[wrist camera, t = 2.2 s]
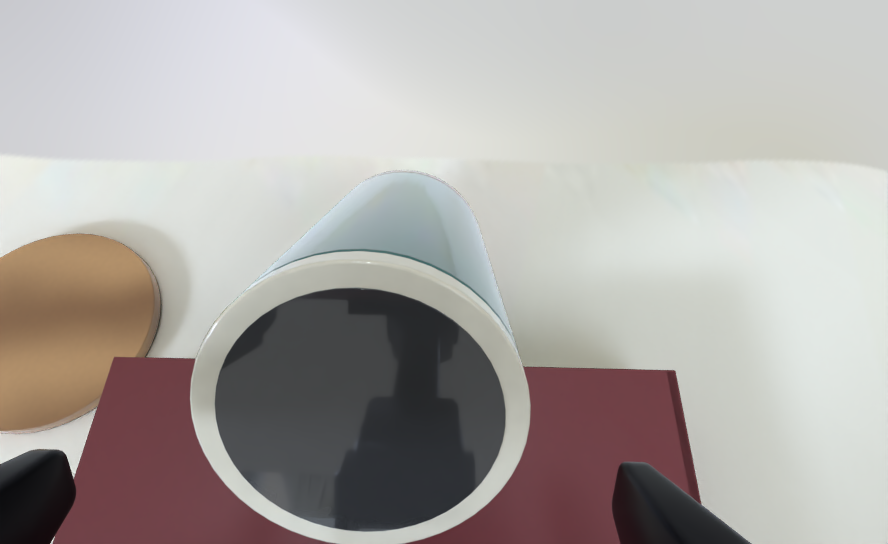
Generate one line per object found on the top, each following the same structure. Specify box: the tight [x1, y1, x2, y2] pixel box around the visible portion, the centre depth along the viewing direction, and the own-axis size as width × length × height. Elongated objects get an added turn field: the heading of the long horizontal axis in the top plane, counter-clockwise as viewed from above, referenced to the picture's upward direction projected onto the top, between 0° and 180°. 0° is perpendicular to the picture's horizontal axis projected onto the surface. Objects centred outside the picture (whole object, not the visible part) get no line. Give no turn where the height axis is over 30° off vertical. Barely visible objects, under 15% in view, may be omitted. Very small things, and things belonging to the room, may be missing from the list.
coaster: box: [0, 234, 161, 434], centre depth 21 cm, size 9×9×1 cm
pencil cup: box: [190, 170, 531, 544], centre depth 15 cm, size 13×7×13 cm, turn 179°
